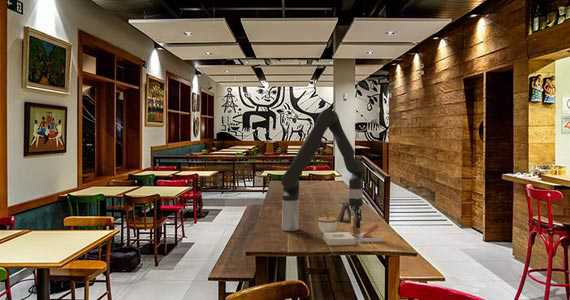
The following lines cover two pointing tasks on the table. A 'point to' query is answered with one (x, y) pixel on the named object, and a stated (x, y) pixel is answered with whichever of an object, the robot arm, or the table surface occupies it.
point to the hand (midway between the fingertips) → (356, 226)
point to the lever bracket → (367, 239)
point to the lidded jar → (327, 224)
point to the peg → (354, 226)
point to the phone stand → (344, 212)
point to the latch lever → (369, 231)
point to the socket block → (339, 238)
